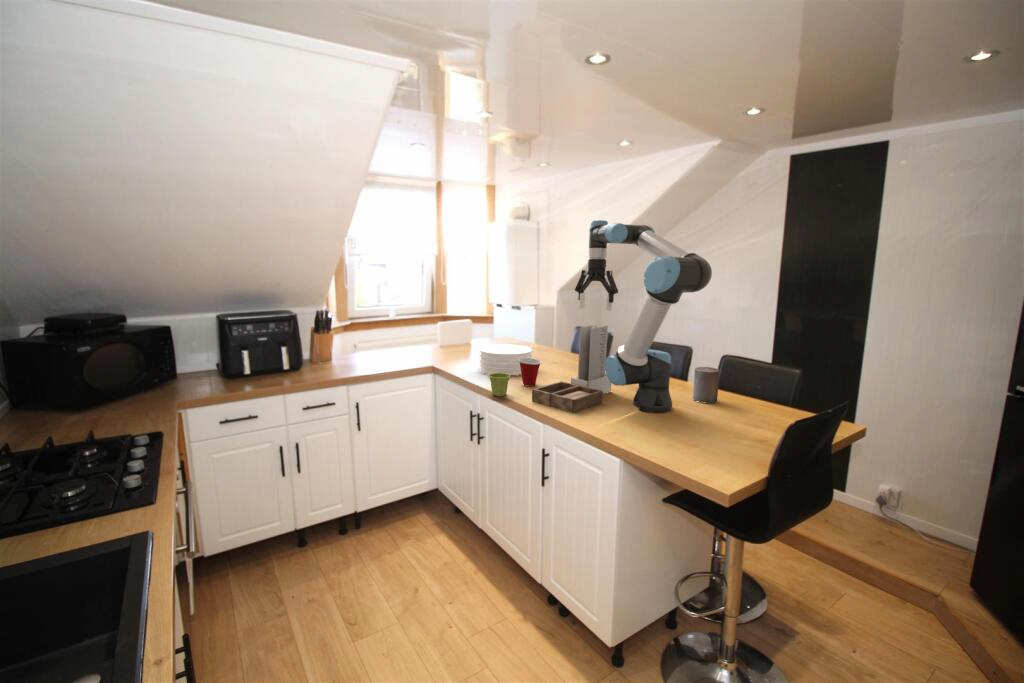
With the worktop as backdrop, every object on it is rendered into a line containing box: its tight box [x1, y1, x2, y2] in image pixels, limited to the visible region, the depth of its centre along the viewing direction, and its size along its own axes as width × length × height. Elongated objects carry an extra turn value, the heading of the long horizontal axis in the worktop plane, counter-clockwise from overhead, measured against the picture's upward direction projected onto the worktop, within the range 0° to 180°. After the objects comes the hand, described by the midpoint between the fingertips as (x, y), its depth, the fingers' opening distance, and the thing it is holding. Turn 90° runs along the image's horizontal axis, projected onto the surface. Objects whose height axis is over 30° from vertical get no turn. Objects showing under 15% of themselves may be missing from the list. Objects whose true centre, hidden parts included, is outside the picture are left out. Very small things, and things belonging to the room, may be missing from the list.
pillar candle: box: [692, 365, 720, 404], centre depth 193 cm, size 10×10×15 cm
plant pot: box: [488, 373, 511, 397], centre depth 198 cm, size 9×9×9 cm
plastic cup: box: [519, 357, 542, 387], centre depth 215 cm, size 11×11×12 cm
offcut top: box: [562, 391, 590, 399], centre depth 182 cm, size 8×14×2 cm, turn 133°
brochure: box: [577, 324, 609, 381], centre depth 199 cm, size 14×6×30 cm, turn 140°
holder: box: [570, 373, 612, 395], centre depth 201 cm, size 9×18×8 cm, turn 136°
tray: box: [531, 380, 604, 414], centre depth 185 cm, size 21×19×6 cm
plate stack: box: [479, 344, 533, 376], centre depth 245 cm, size 28×28×12 cm
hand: (595, 309), depth 195 cm, fingers open, 13 cm apart
